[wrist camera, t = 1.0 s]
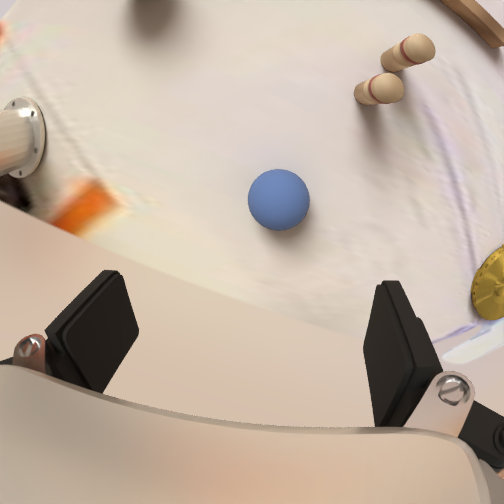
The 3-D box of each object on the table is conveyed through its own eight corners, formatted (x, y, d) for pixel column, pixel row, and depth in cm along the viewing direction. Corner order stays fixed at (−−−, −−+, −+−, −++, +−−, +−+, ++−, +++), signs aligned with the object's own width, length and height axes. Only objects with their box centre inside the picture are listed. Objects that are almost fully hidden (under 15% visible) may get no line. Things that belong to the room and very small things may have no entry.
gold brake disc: (483, 324, 36) (488, 332, 34) (458, 281, 33) (464, 289, 31) (533, 276, 31) (539, 283, 29) (514, 224, 28) (522, 231, 26)
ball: (242, 200, 33) (231, 219, 27) (269, 154, 30) (264, 163, 25) (289, 227, 33) (288, 251, 28) (318, 183, 31) (323, 199, 25)
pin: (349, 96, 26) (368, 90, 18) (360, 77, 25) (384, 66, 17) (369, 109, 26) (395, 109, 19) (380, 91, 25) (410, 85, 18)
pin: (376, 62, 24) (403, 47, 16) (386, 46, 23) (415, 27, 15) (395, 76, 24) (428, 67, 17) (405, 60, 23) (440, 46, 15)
